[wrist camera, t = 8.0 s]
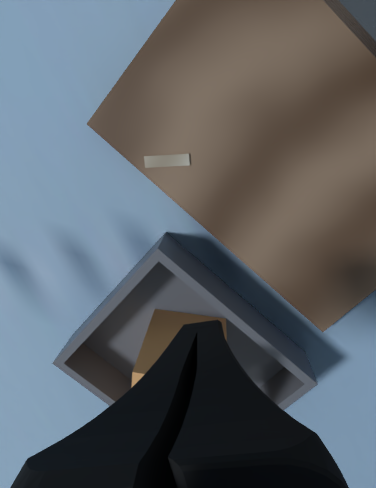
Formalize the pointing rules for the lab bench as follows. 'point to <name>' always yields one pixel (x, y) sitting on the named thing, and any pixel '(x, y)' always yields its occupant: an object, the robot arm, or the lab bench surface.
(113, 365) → the tray
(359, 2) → the crank
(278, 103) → the crank board
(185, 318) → the stop block
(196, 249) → the lab bench surface
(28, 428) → the lab bench surface
